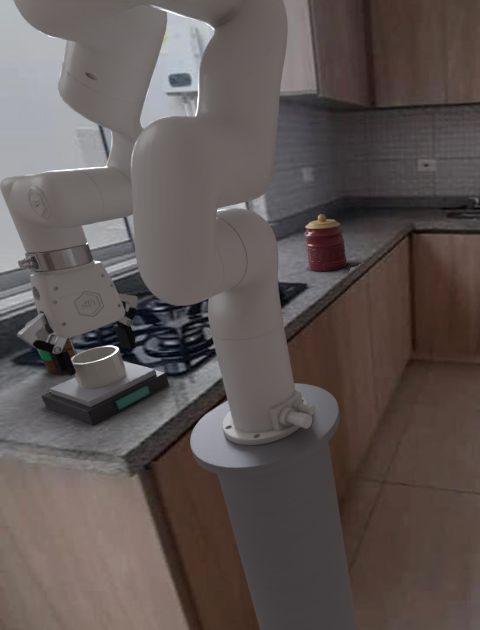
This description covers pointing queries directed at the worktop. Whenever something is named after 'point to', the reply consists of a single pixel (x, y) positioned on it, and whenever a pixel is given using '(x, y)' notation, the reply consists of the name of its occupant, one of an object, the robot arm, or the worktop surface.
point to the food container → (46, 356)
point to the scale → (104, 394)
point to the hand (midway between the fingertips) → (100, 359)
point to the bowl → (98, 367)
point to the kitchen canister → (325, 245)
